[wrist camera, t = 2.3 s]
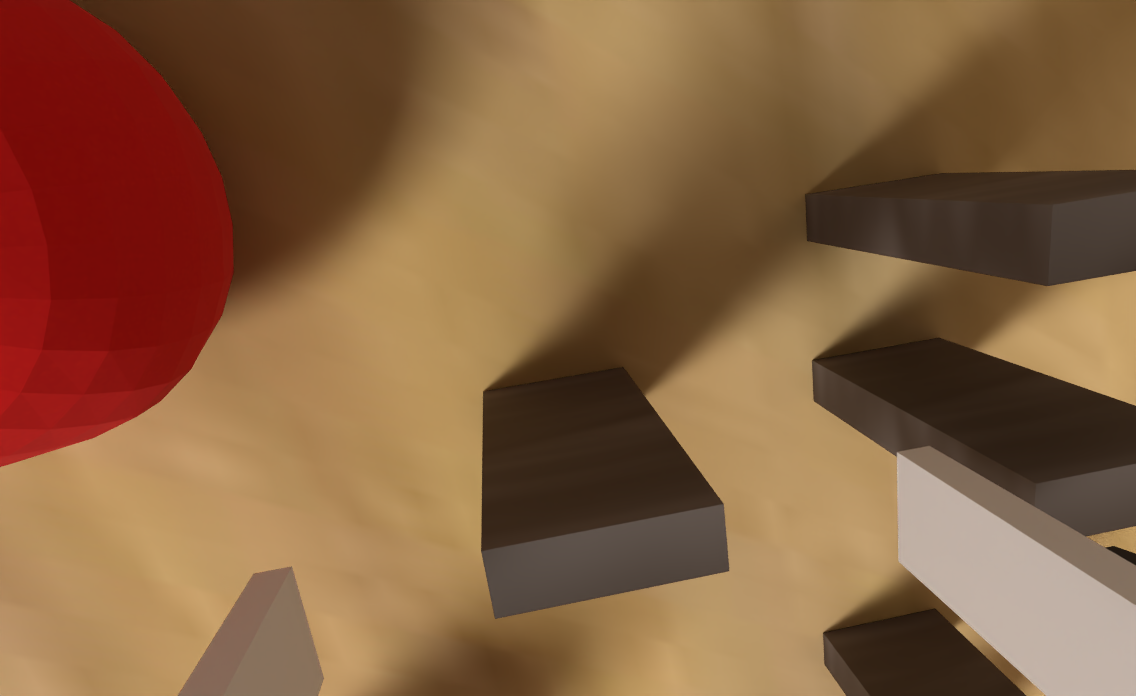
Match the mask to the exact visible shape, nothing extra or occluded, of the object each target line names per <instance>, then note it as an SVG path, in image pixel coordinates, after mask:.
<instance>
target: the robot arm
mask: <svg viewBox="0 0 1136 696" xmlns="http://www.w3.org/2000/svg"><path fill="white" fill-rule="evenodd" d="M897 493H898V557H899V562H900V563H901V564H902V565H903V566H904V567H905V568H906V569H907V570H909V571H910V572H911V573H912V574H913V575H914V576H915V577H916V578H917V579H919V580H920V581H921V582H922V583H923V584H924V585H925V586H926V587H927V588H928V589H930V590H931V591H932V592H933V593H934V594H935V595H936V596H937V597H938V598H939V599H941V600H942V601H943V602H944V603H945V604H946V605H947V606H948V607H949V608H950V609H952V610H953V611H954V612H955V613H956V614H957V615H958V616H959V617H960V618H961V619H963V620H964V621H965V622H966V623H967V624H968V625H969V626H970V627H971V628H972V629H974V630H975V631H976V632H977V633H978V634H979V635H980V636H981V637H982V638H983V639H985V640H986V641H987V642H988V643H989V644H990V645H991V646H992V647H993V648H994V649H996V650H997V651H998V652H999V653H1000V654H1001V655H1002V656H1003V657H1004V658H1005V659H1007V660H1008V661H1009V662H1010V663H1011V664H1012V665H1013V666H1014V667H1015V668H1016V669H1018V670H1019V671H1020V672H1021V673H1022V674H1023V675H1024V676H1025V677H1026V678H1027V679H1029V680H1030V681H1031V682H1032V683H1033V684H1034V685H1035V686H1036V687H1037V688H1038V689H1040V690H1041V691H1042V692H1043V693H1044V694H1045V695H1046V696H1136V554H1135V553H1132V552H1129V551H1126V550H1124V549H1121V548H1118V547H1115V546H1111V547H1106V548H1105V547H1103V546H1101V545H1099V544H1098V543H1096V542H1094V541H1093V540H1091V539H1089V538H1087V537H1086V536H1084V535H1082V534H1081V533H1079V532H1077V531H1075V530H1074V529H1072V528H1070V527H1068V526H1067V525H1065V524H1063V523H1062V522H1060V521H1058V520H1056V519H1055V518H1053V517H1051V516H1050V515H1048V514H1046V513H1044V512H1043V511H1041V510H1039V509H1037V508H1036V507H1034V506H1032V505H1031V504H1029V503H1027V502H1025V501H1024V500H1022V499H1020V498H1019V497H1017V496H1015V495H1013V494H1012V493H1010V492H1008V491H1006V490H1005V489H1003V488H1001V487H1000V486H998V485H996V484H994V483H993V482H991V481H989V480H988V479H986V478H984V477H982V476H981V475H979V474H977V473H975V472H974V471H972V470H970V469H969V468H967V467H965V466H963V465H962V464H960V463H958V462H957V461H955V460H953V459H951V458H950V457H948V456H946V455H944V454H943V453H941V452H939V451H938V450H936V449H934V448H932V447H931V446H926V447H921V448H915V449H910V450H905V451H900V452H897ZM323 679H324V677H323V673H322V670H321V666H320V663H319V659H318V656H317V652H316V649H315V645H314V642H313V638H312V635H311V631H310V628H309V624H308V621H307V617H306V614H305V611H304V607H303V604H302V600H301V597H300V593H299V590H298V586H297V583H296V579H295V576H294V572H293V569H292V567H287V568H281V569H276V570H271V571H266V572H260V573H255V574H253V576H252V577H251V579H250V581H249V582H248V584H247V585H246V587H245V589H244V590H243V592H242V593H241V595H240V597H239V598H238V600H237V601H236V603H235V605H234V606H233V608H232V609H231V611H230V613H229V614H228V616H227V617H226V619H225V621H224V622H223V624H222V626H221V627H220V629H219V630H218V632H217V634H216V635H215V637H214V638H213V640H212V642H211V643H210V645H209V646H208V648H207V650H206V651H205V653H204V654H203V656H202V658H201V659H200V661H199V662H198V664H197V666H196V667H195V669H194V670H193V672H192V674H191V675H190V677H189V679H188V680H187V682H186V683H185V685H184V687H183V688H182V690H181V691H180V693H179V695H178V696H318V694H319V691H320V688H321V685H322V682H323Z"/></svg>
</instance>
